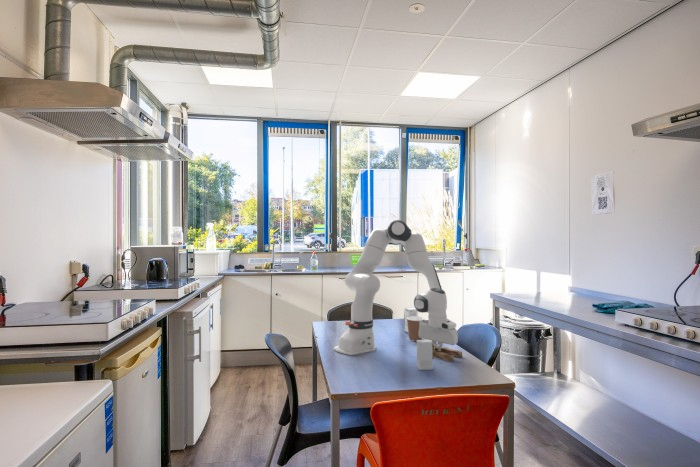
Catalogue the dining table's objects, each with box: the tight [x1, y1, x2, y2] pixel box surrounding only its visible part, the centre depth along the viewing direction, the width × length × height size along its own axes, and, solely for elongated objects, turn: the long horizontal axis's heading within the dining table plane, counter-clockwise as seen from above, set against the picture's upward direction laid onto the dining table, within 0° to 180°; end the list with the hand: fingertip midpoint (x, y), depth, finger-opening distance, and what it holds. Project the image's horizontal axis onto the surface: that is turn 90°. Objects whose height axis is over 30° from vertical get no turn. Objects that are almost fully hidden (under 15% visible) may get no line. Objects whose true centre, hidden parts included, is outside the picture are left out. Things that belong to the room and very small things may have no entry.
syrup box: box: [403, 307, 418, 334], centre depth 223 cm, size 6×6×14 cm
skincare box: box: [416, 339, 433, 371], centre depth 160 cm, size 6×4×12 cm
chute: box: [432, 346, 463, 363], centre depth 179 cm, size 17×11×3 cm, turn 46°
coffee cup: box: [407, 315, 426, 342], centre depth 206 cm, size 10×10×12 cm
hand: (437, 350), depth 180 cm, fingers closed
